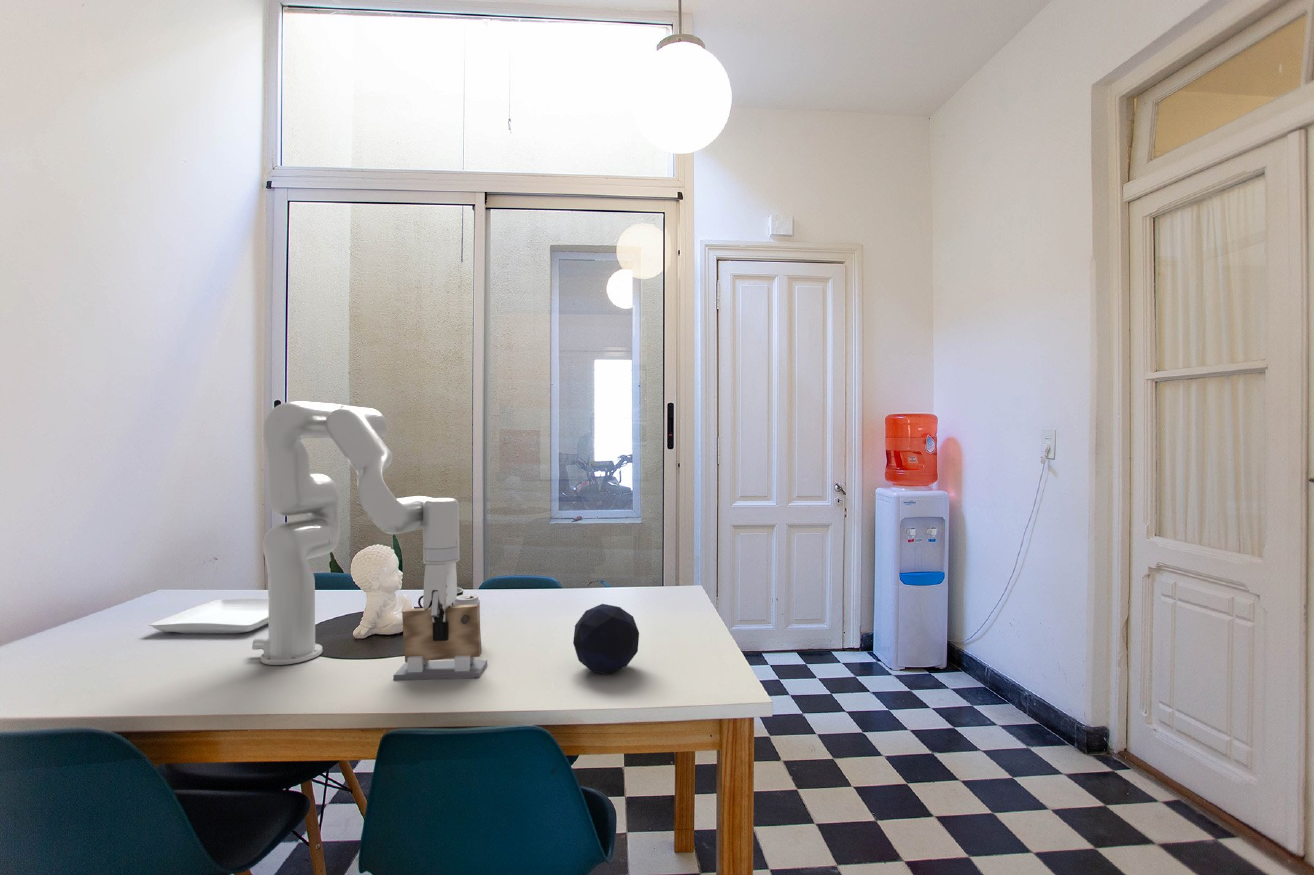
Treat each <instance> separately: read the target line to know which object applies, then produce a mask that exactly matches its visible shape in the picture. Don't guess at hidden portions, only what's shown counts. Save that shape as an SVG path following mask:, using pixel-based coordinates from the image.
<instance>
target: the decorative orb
mask: <svg viewBox="0 0 1314 875" xmlns="http://www.w3.org/2000/svg"><path fill="white" fill-rule="evenodd" d="M639 638H640V632H639V628H638V626H637V623H636V620H635V618H634V616H633V615H632V614H630V613H629V612H627V611H626V610H625V609H623V608H622V607H620V606H616V605H611V604H605V603H601V604H598V605H596V606H594V607H591V608H590V609H587V610H585V611H584V612H583V614H582V615H581V617H580V618H579V619H578V621H577V622H576V623H575V625H574V632H573V642H572V644H573V646H574V649H575V650H574V651H575V654H576V657H577V659H578V662H579V663H580V664H582V665H583V666H585V667H586V668H587V669H588V670H590V671H591V672H592V673H593V672H594V673H599V674H607V675H612V674H614V673H616V672H618V671H620V670H623V668H626V667H628V665H629V664H630V662H631V661H632V660H633V658H634V657H635V656H636V654H638V651H639V641H640V640H639Z"/></svg>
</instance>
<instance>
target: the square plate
mask: <svg viewBox="0 0 1314 875" xmlns="http://www.w3.org/2000/svg"><path fill="white" fill-rule="evenodd" d="M266 625H268V597H260V598H259V597H256V598H255V597H248V598H247V597H246V598H245V597H244V598H243V597H241V598H219V599H215V600H212V601H209V602H207V603H203V604H200V605H197V606H193V607H192V608H189V609H186V610H184V611H180V612H178V613H175V614H173V615H169V616H167V617H165V618H162V619H160V620H158V621H155V622H152V623H149V624H148V626H149V627H151V628H152V629H155V630H157V631H159V632H165V633H166V632H167V633H179V634H241V633H247V632H248V633H249V632H252V631H255V630H258V629H260V628H261V627H264V626H266Z"/></svg>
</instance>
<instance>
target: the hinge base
mask: <svg viewBox="0 0 1314 875" xmlns="http://www.w3.org/2000/svg"><path fill="white" fill-rule="evenodd" d="M487 666H488V659H478V660H477V659H476V657H470V655H463V656H456V657H455V659H454V660H429V661H423V656H413V657H408V658H407V662H405V661H404V663H403V664H402V666H400V668H399V669H397V671H396V672H395V673H394V674H393V676H392V677H393V681H395V680H396V681H398V680H401V681H402V680H435V679H437V680H439V679H440V680H441V679H442V680H443V679H445V678H446V679H447V678H448V679H478V678H477V677H479V678H480V677H481V676H482V674H483V673H484V671H485V669H486V667H487ZM475 677H476V678H475ZM448 679H447V680H448Z"/></svg>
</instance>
